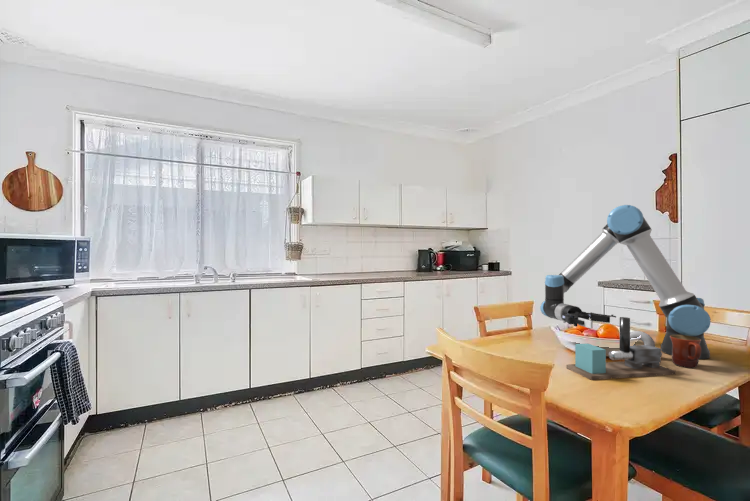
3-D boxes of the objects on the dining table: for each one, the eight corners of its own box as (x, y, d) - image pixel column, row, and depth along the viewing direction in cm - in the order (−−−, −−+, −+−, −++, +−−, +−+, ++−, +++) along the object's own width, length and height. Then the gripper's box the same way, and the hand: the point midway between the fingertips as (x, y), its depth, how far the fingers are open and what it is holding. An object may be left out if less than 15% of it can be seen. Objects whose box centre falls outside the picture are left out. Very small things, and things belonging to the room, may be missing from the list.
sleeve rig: (644, 363, 136) (644, 342, 135) (675, 374, 124) (675, 351, 124) (566, 368, 130) (566, 345, 130) (591, 380, 119) (591, 355, 118)
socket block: (588, 365, 130) (588, 343, 129) (605, 373, 122) (605, 349, 122) (575, 366, 129) (575, 344, 129) (592, 373, 121) (592, 350, 121)
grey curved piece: (656, 358, 142) (656, 332, 142) (653, 360, 139) (653, 334, 139) (625, 352, 149) (626, 328, 149) (623, 354, 147) (623, 329, 147)
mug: (664, 361, 138) (664, 334, 138) (691, 362, 137) (691, 335, 136) (684, 371, 127) (684, 342, 126) (713, 373, 125) (714, 343, 125)
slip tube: (654, 356, 131) (654, 315, 131) (661, 358, 128) (662, 317, 128) (608, 358, 128) (608, 317, 128) (615, 361, 125) (615, 319, 125)
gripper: (595, 321, 156) (638, 333, 136) (541, 323, 153) (577, 335, 132) (595, 304, 156) (638, 312, 135) (542, 305, 153) (577, 315, 132)
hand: (608, 324), depth 134 cm, fingers open, 13 cm apart
